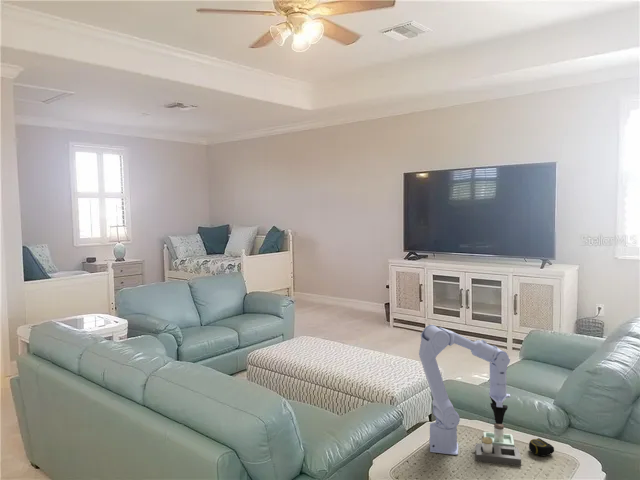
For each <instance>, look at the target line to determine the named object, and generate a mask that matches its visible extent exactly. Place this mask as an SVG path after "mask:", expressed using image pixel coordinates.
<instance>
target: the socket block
mask: <svg viewBox="0 0 640 480" xmlns="http://www.w3.org/2000/svg"><path fill="white" fill-rule="evenodd" d="M475 456H476V457H475V458H476V462H483V463H484V462H485V463H491V464H492V463H493V464H502V465H508V466H509V465H511V466H517V467H518V466H520V467H521V466H522V457H521V453H520V448H519V447H507V446H498V445H492V454H491V453H483V448H482V443H475Z"/></svg>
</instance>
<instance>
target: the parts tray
mask: <svg viewBox="0 0 640 480" xmlns="http://www.w3.org/2000/svg"><path fill="white" fill-rule="evenodd" d="M483 437H489V438H491V439H492V445H498V446H507V447H515V442H514V441H515V440H514V436H513V434H511V433H504V442H503V443H502V442H495V441H494V432H493V431H492V432H491V431H483Z"/></svg>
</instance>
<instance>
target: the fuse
mask: <svg viewBox="0 0 640 480" xmlns="http://www.w3.org/2000/svg"><path fill="white" fill-rule="evenodd" d="M481 441H482V443H481V444H482V448H483V452H482V453H491V454H492V439H491V438H489V437H484V436H483V437H482V438H481Z"/></svg>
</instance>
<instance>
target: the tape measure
mask: <svg viewBox="0 0 640 480" xmlns="http://www.w3.org/2000/svg"><path fill="white" fill-rule="evenodd" d="M528 448H529V451H530V452H531V453H532V454H534V455H537V456H539V457H546V456H549V455H551V454H553V453H555V447H554V446H553V445H551V444H550V443H549V442H546V440H543V439H542V438H534V439H531V440H530V441H529V442H528Z"/></svg>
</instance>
